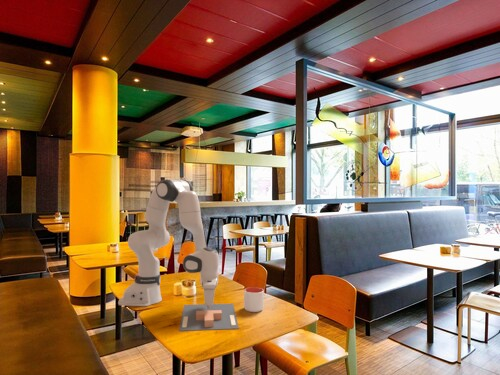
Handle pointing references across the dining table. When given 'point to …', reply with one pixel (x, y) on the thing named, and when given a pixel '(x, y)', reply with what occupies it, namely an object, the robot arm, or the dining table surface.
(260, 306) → the cup
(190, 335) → the dining table surface
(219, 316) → the t block
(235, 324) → the mat
